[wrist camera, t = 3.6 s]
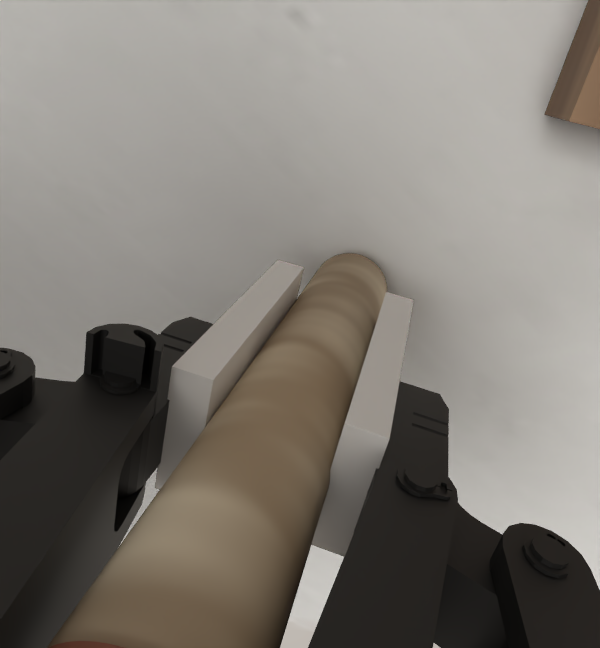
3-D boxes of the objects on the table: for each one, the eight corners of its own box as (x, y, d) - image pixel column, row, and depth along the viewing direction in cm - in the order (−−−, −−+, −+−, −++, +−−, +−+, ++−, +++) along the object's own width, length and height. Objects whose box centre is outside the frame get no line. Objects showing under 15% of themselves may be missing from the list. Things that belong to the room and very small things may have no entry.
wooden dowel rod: (304, 312, 19) (-47, 855, 6) (321, 242, 18) (-61, 707, 5) (376, 334, 19) (187, 968, 5) (398, 264, 18) (231, 836, 4)
